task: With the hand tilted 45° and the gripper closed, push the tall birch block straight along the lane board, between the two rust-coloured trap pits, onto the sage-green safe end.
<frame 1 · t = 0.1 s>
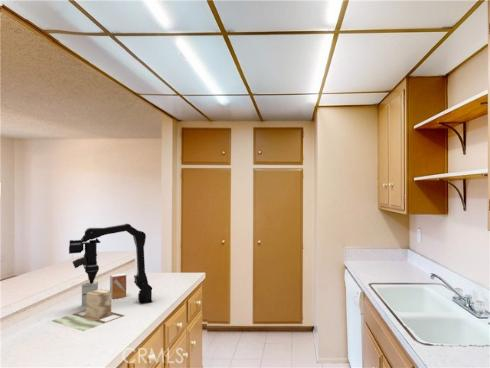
hand: (90, 281, 181), 15 cm above the table, tool pointing down, fingers open, 9 cm apart
birch block: (99, 314, 168), point 1 cm above the table, touching lane board
lane board: (88, 321, 164), on the table
small box: (118, 297, 204), on the table
supplement box: (89, 306, 187), on the table
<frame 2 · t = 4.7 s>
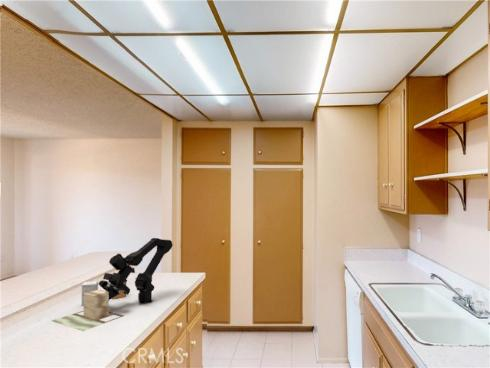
hand: (103, 302, 171), 7 cm above the table, tool tilted 45°, fingers closed, pressing on birch block
birch block: (96, 315, 167), point 2 cm above the table, touching gripper
everything else where it was.
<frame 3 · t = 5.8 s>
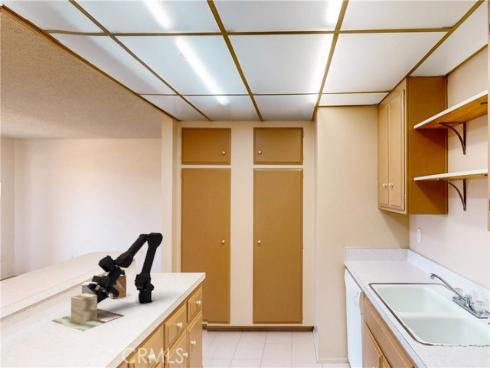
hand: (92, 305, 166), 7 cm above the table, tool tilted 45°, fingers closed, pressing on birch block
birch block: (84, 319, 162), point 1 cm above the table, touching gripper, lane board
everything else where it was.
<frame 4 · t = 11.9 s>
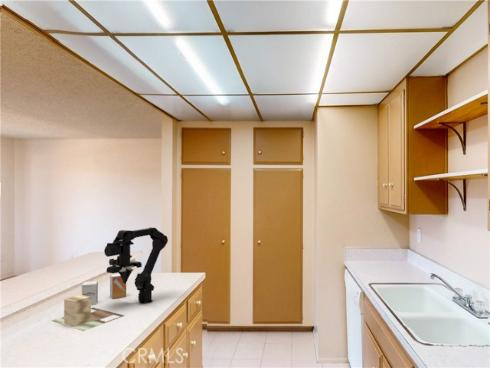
hand: (124, 283, 183), 13 cm above the table, tool pointing down, fingers closed
birch block: (77, 321, 159), point 1 cm above the table, touching lane board
everything else where it was.
at the end: birch block inside the target area on the lane board (0.7 cm from its centre), point 1.5 cm above the lane board's base; birch block tilted 0°; birch block moved 11.2 cm from its start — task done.
